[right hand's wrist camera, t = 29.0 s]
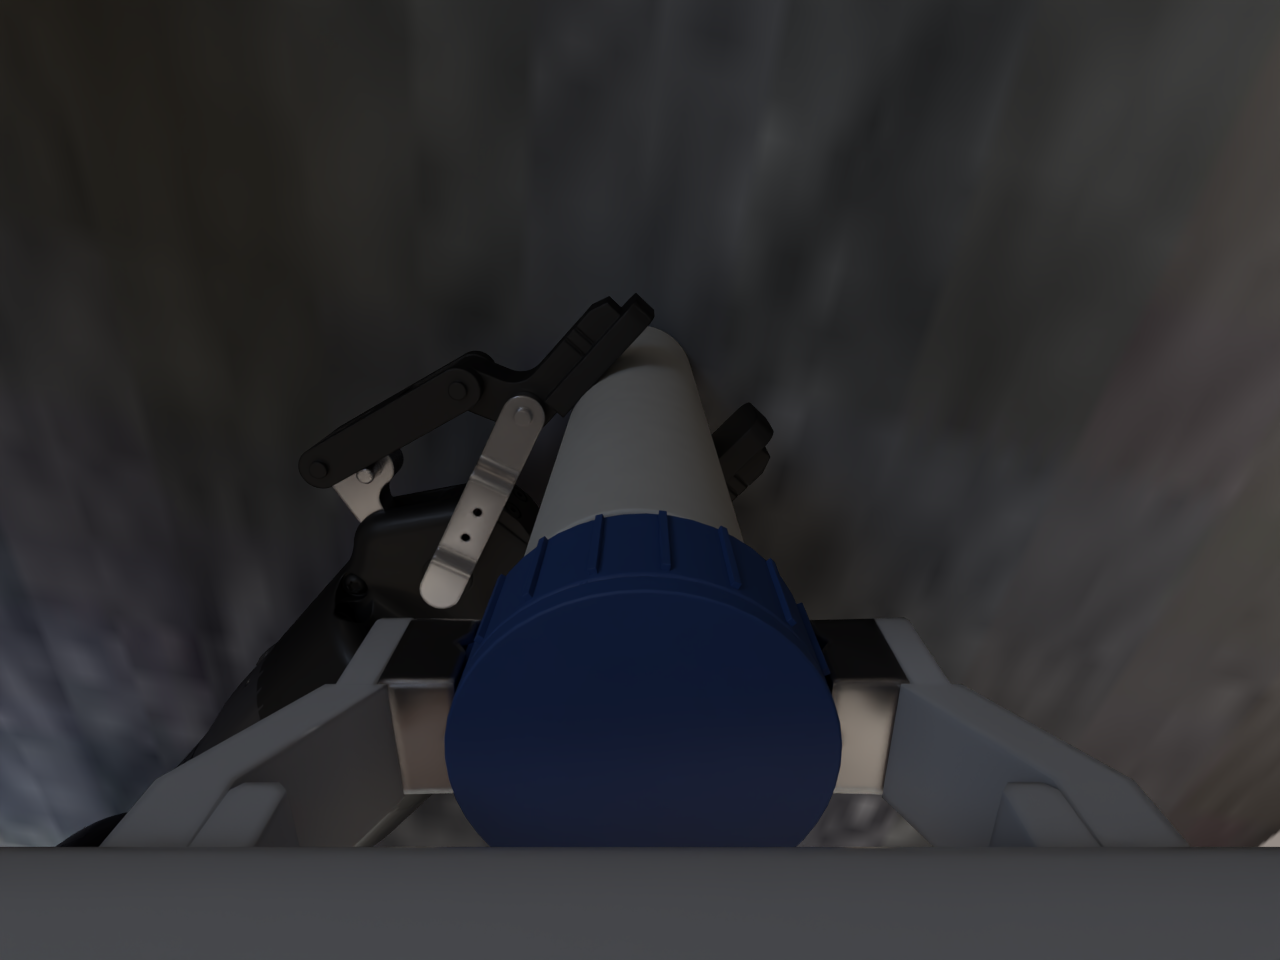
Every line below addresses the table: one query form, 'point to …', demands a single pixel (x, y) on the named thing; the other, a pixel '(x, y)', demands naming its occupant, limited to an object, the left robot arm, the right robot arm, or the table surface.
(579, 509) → the bottle
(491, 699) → the lid
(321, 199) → the table surface
